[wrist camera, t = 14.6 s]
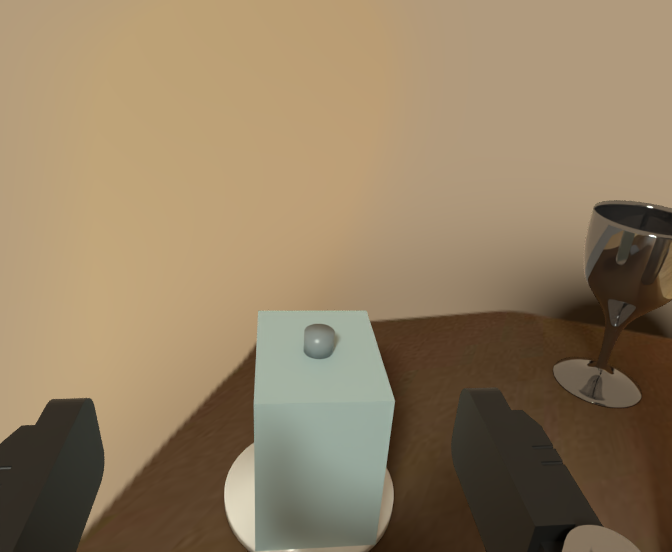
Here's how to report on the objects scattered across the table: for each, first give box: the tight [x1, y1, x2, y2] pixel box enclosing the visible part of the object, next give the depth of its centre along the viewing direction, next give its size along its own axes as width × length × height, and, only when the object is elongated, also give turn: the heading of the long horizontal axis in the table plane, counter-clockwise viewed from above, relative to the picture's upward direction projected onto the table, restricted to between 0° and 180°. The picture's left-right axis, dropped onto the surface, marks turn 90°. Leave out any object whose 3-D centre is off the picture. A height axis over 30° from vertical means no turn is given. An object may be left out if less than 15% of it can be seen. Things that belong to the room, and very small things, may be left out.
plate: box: [224, 443, 394, 552], centre depth 33 cm, size 10×10×1 cm
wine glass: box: [553, 200, 672, 408], centre depth 43 cm, size 8×8×15 cm
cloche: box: [254, 311, 395, 551], centre depth 31 cm, size 7×9×11 cm
